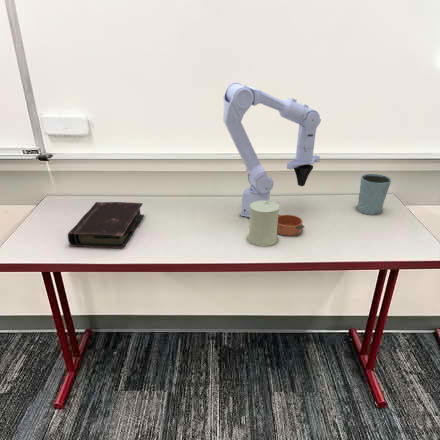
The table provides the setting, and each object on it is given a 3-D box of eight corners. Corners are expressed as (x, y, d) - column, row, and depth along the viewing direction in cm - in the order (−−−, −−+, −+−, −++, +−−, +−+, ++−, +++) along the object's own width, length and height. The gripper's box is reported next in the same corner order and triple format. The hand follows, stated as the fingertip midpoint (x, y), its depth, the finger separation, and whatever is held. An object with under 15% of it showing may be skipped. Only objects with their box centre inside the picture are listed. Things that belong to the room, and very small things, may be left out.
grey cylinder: (350, 209, 156) (355, 177, 150) (364, 202, 162) (371, 171, 155) (374, 217, 150) (381, 185, 143) (389, 210, 156) (396, 178, 149)
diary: (68, 246, 133) (65, 232, 130) (96, 214, 153) (93, 200, 150) (126, 249, 131) (124, 234, 128) (146, 216, 152) (144, 203, 149)
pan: (284, 220, 148) (285, 211, 146) (310, 232, 141) (311, 222, 139) (265, 227, 144) (265, 218, 142) (291, 240, 136) (292, 230, 134)
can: (279, 235, 139) (282, 200, 132) (273, 248, 132) (276, 212, 125) (252, 231, 141) (254, 197, 135) (244, 243, 134) (246, 208, 127)
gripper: (299, 153, 137) (295, 193, 144) (328, 145, 144) (323, 183, 152) (283, 148, 141) (280, 187, 149) (312, 141, 149) (308, 178, 156)
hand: (301, 185), depth 151 cm, fingers closed
